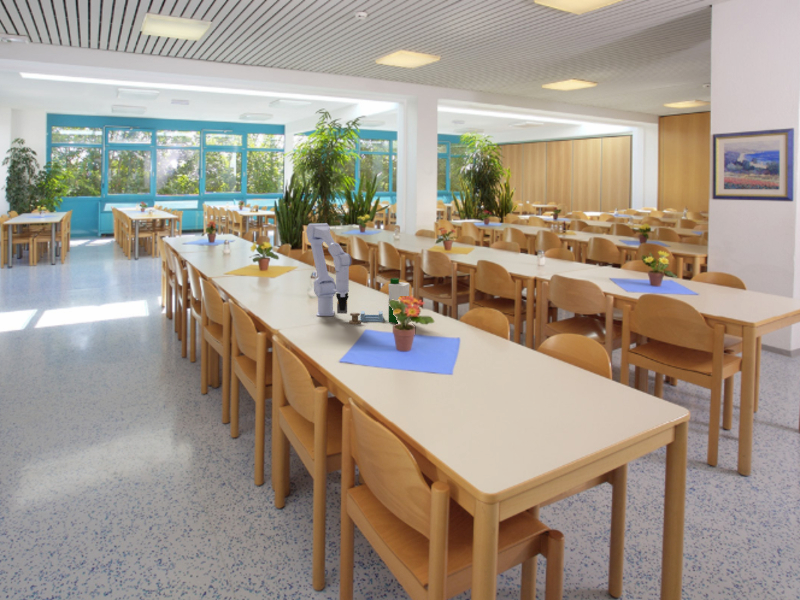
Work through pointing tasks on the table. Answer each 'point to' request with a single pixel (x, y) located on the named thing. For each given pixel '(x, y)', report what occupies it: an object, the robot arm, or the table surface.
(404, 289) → the soya milk
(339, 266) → the robot arm
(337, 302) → the orange and grey block
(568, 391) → the table surface
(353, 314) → the bobbin
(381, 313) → the blue square socket
